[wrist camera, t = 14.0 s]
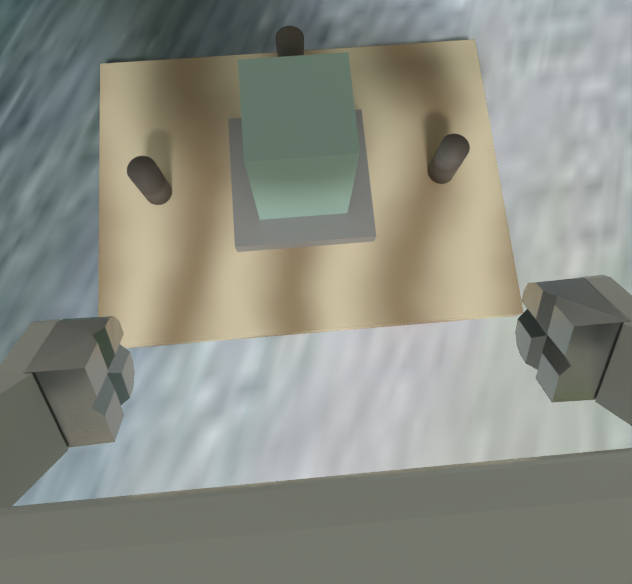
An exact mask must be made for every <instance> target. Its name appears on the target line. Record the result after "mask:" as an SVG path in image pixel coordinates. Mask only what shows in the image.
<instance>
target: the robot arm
mask: <svg viewBox="0 0 632 584" xmlns="http://www.w3.org/2000/svg"><path fill="white" fill-rule="evenodd" d="M522 302H523V303H524V305H525V307H526V308H527V310H526V311H525V312H524V313H523V314H522V315H521V316H520V317H519V318H518V321H517V326H516V332H515V333H516V342H517V347H518V350H519V353H520V355H521V357H522V358H523V360H524V361H525V363H526V364H528V365H530V366H532V367H534V368H535V369H537V370H538V371H537V375H536V380H537V381H538V383H539V384H540V386H541V387H542V388H543V390H544V391H545V393H546V394H547V396H548V397H549V399H550V400H551V402H564V401H580V400H596V401H595V402H597V403H598V404H600V405H601V406H603V407H604V408H606V409H607V410H609V411H610V412H612V413H613V414H615V415H616V416H618V417H619V418H621V419H622V420H624V421H625V422H627V423H628V424H630V425H631V426H632V295H630V294H629V293H628V292H627V291H626V290H625V289H623V288H622V287H621V286H620V285H619V284H618V283H617V282H615V281H614V280H613V279H612V278H611V277H608V276H605V275H597V276H589V277H580V278H574V279H564V280H554V281H544V282H535V283H528V284H527V286H526V288H525V290H524V293H523V297H522ZM123 335H124V333H123V330H122V327H121V324H120V322H119V320H118V319H117V318H116V317H114V316H107V317H91V318H74V319H63V320H60V319H57V320H46V321H37V322H34V323H31V324H30V325H29V326H28V328H27V329H26V331H25V332H24V333H23V335H22V336H21V337H20V339H19V340H18V342H17V343H16V344H15V346H14V347H13V349H12V350H11V351H10V353H9V354H8V356H7V357H6V358H5V360H4V361H3V363H2V364H1V365H0V584H632V448H626V449H616V450H605V451H594V452H583V453H573V454H562V455H551V456H540V457H530V458H519V459H508V460H497V461H486V462H476V463H465V464H454V465H443V466H433V467H422V468H412V469H401V470H391V471H380V472H370V473H360V474H349V475H339V476H328V477H318V478H307V479H297V480H287V481H276V482H266V483H255V484H245V485H234V486H224V487H213V488H203V489H192V490H181V491H171V492H160V493H150V494H139V495H129V496H118V497H108V498H97V499H86V500H76V501H65V502H55V503H44V504H34V505H23V506H13V505H14V504H15V503H16V502H17V501H18V500H19V499H20V498H21V497H22V496H23V495H24V494H25V493H26V492H27V491H28V490H29V489H30V488H31V487H32V486H33V485H34V484H35V483H36V482H37V481H38V480H39V479H40V478H41V477H42V476H43V475H44V474H45V473H46V472H47V471H48V470H49V469H50V468H51V467H52V466H53V465H54V464H55V463H56V462H57V461H58V460H59V459H60V458H61V457H62V456H63V455H64V454H65V453H66V452H67V451H68V447H75V446H84V445H92V444H101V443H109V442H115V439H116V436H117V434H118V431H119V428H120V425H121V422H122V419H123V417H124V413H123V410H122V408H121V405H122V404H123V403H124V402H125V401H127V400H128V399H129V398H130V396H131V393H132V390H133V386H134V366H133V360H132V357H131V354H130V351H128V350H127V349H126V348H124V347H123V346H122V345H121V344H120V342H121V340H122V337H123ZM12 506H13V507H12Z"/></svg>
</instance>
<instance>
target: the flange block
mask: <svg viewBox="0 0 632 584" xmlns="http://www.w3.org/2000/svg"><path fill="white" fill-rule="evenodd" d="M238 70H239V87H240V104H241V118H230V119H228V128H229V147H230V165H231V184H232V203H233V222H234V241H235V248H236V250H237V252H246V251H259V250H272V249H285V248H298V247H310V246H323V245H336V244H349V243H362V242H374V240H375V238H376V229H375V220H374V212H373V203H372V195H371V186H370V177H369V169H368V160H367V152H366V143H365V135H364V126H363V118H362V109H360V110H355V106H354V97H353V89H352V80H351V71H350V62H349V54H348V52H346V53H331V54H315V55H300V56H285V57H270V58H254V59H239V60H238Z"/></svg>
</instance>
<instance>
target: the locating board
mask: <svg viewBox="0 0 632 584" xmlns="http://www.w3.org/2000/svg"><path fill="white" fill-rule="evenodd" d="M276 46H277V52H274V53H259V54H243V55H228V56H213V57H197V58H182V59H166V60H151V61H136V62H120V63H105V64H100V167H99V298H98V317H107V316H114V317H116V318H117V319H118V320H119V322H120V324H121V327H122V330H123V333H124V335H123V337H122V340H121V342H120V344H121V345H122V346H123V347H124V348H135V347H147V346H159V345H171V344H183V343H194V342H206V341H218V340H230V339H242V338H254V337H266V336H278V335H290V334H302V333H314V332H326V331H338V330H350V329H362V328H374V327H386V326H398V325H410V324H422V323H433V322H445V321H457V320H469V319H481V318H493V317H505V316H516V315H519V314H521V313H523V308H522V303H521V297H520V291H519V286H518V280H517V274H516V269H515V263H514V257H513V252H512V246H511V241H510V235H509V229H508V224H507V218H506V212H505V207H504V201H503V195H502V190H501V184H500V179H499V173H498V167H497V162H496V156H495V150H494V145H493V139H492V133H491V128H490V122H489V116H488V111H487V105H486V100H485V94H484V88H483V83H482V77H481V71H480V66H479V60H478V54H477V49H476V43H475V39H473V40H458V41H443V42H427V43H412V44H397V45H381V46H366V47H351V48H335V49H320V50H305V51H304V36H303V33H302V32H301V30H300V29H298V28H296V27H294V26H286V27H283V28H281V29H280V30H279V31H278V32H277V34H276ZM346 52H348V54H349V62H350V71H351V80H352V89H353V97H354V106H355V110H360V109H362V118H363V126H364V135H365V143H366V152H367V160H368V169H369V177H370V186H371V195H372V203H373V212H374V220H375V229H376V238H375V240H374V242H362V243H349V244H336V245H323V246H310V247H298V248H285V249H272V250H259V251H246V252H237V250H236V248H235V241H234V222H233V203H232V184H231V165H230V147H229V128H228V119H230V118H241V104H240V87H239V70H238V60H239V59H254V58H270V57H285V56H300V55H315V54H331V53H346Z"/></svg>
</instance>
